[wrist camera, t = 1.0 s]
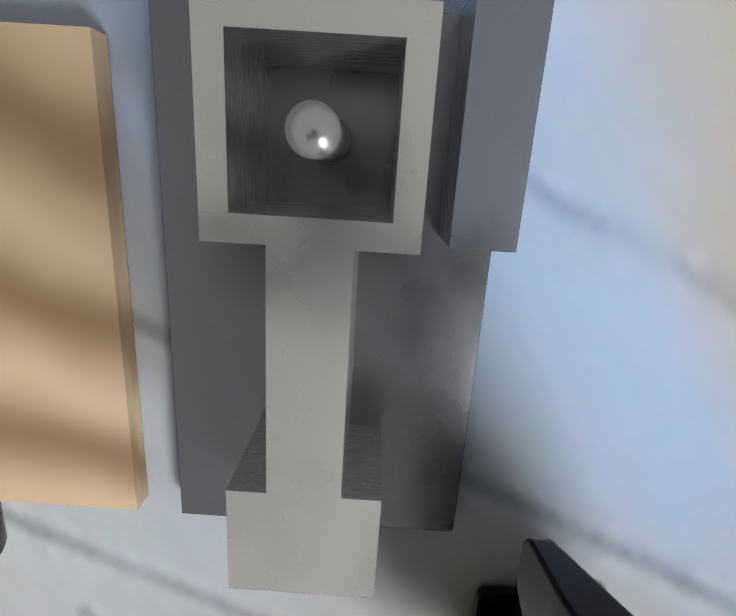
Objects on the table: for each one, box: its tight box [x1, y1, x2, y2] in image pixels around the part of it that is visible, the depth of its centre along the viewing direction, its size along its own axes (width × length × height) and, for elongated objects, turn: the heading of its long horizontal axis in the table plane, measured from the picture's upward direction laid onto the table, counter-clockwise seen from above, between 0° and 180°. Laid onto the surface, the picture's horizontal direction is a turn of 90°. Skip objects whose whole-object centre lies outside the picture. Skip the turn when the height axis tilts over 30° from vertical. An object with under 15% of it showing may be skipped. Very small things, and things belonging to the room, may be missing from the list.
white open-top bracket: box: [189, 0, 444, 598], centre depth 16 cm, size 18×6×4 cm, turn 177°
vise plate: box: [149, 0, 554, 531], centre depth 16 cm, size 20×12×6 cm, turn 177°
